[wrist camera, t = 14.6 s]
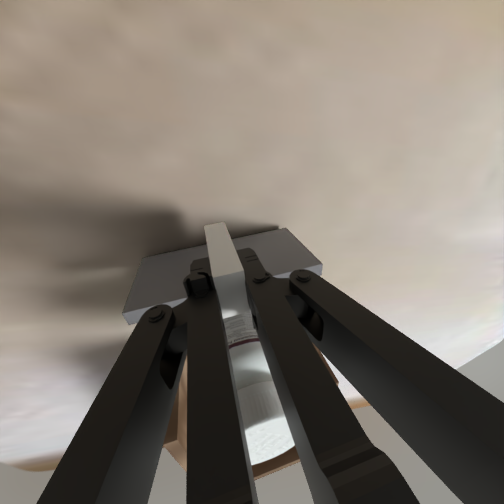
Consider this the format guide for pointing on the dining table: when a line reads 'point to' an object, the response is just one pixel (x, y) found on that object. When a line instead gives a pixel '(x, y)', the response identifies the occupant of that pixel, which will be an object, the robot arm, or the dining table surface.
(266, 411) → the pill bottle
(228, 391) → the robot arm
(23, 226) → the dining table surface
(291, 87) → the dining table surface
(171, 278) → the tray
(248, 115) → the dining table surface
